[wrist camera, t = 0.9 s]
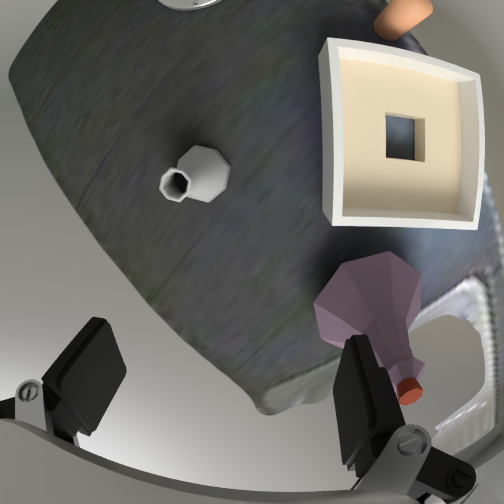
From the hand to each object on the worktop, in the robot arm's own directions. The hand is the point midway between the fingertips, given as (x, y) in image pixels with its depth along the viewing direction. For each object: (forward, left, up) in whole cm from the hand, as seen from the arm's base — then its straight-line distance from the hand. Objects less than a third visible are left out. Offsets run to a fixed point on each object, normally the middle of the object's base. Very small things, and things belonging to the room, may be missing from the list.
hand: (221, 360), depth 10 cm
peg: (-25, +18, -27) cm, 41 cm away
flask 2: (+13, +15, -27) cm, 33 cm away
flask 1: (-4, -7, -27) cm, 28 cm away
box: (-9, +18, -27) cm, 33 cm away
